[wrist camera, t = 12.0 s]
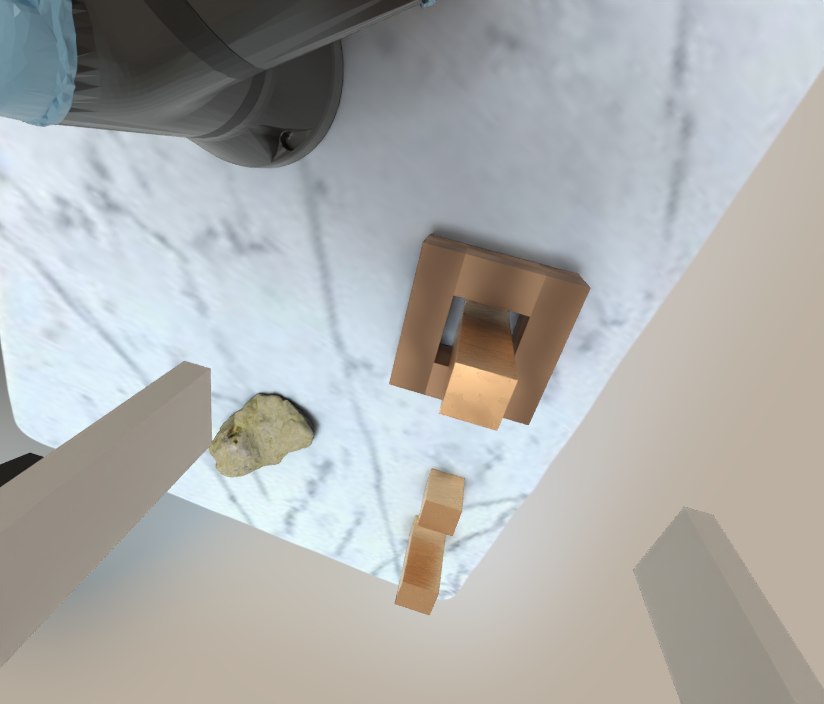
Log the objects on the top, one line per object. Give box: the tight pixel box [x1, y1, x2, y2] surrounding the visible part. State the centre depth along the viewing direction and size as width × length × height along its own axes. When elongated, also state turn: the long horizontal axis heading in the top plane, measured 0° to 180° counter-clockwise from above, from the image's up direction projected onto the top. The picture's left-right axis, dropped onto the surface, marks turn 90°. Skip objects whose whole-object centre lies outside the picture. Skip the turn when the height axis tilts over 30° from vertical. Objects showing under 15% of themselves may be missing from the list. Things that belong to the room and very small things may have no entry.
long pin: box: [439, 299, 518, 431], centre depth 32 cm, size 4×4×14 cm
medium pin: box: [395, 515, 446, 615], centre depth 47 cm, size 4×4×9 cm
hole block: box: [389, 234, 590, 425], centre depth 36 cm, size 14×14×4 cm
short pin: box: [417, 469, 465, 536], centre depth 45 cm, size 4×4×5 cm
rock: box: [209, 394, 314, 477], centre depth 46 cm, size 11×6×10 cm
